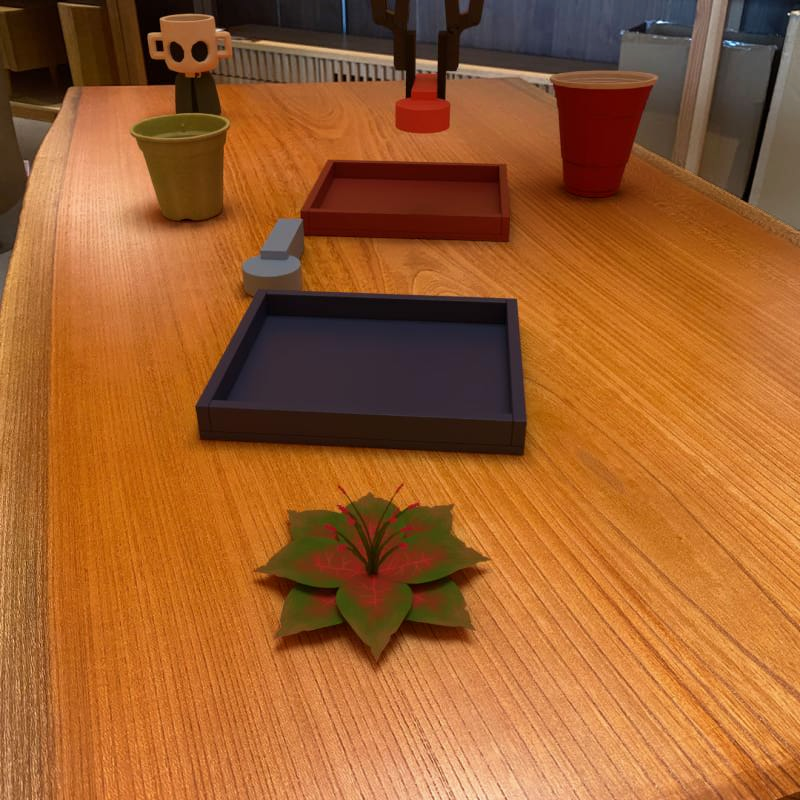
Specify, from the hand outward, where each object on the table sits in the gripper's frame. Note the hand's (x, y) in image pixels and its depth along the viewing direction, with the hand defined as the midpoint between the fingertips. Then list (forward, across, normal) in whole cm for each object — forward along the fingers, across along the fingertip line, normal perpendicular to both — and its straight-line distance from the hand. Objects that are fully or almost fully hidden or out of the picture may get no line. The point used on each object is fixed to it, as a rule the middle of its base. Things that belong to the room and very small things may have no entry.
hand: (425, 106), depth 79 cm
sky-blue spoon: (+11, -12, -15) cm, 22 cm away
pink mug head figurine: (+11, -33, +36) cm, 50 cm away
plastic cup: (+11, +18, +10) cm, 23 cm away
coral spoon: (0, 0, -2) cm, 3 cm away
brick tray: (+11, -1, +2) cm, 11 cm away
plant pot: (+11, -24, -1) cm, 26 cm away
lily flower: (+11, 0, -51) cm, 52 cm away
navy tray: (+11, -2, -32) cm, 34 cm away
